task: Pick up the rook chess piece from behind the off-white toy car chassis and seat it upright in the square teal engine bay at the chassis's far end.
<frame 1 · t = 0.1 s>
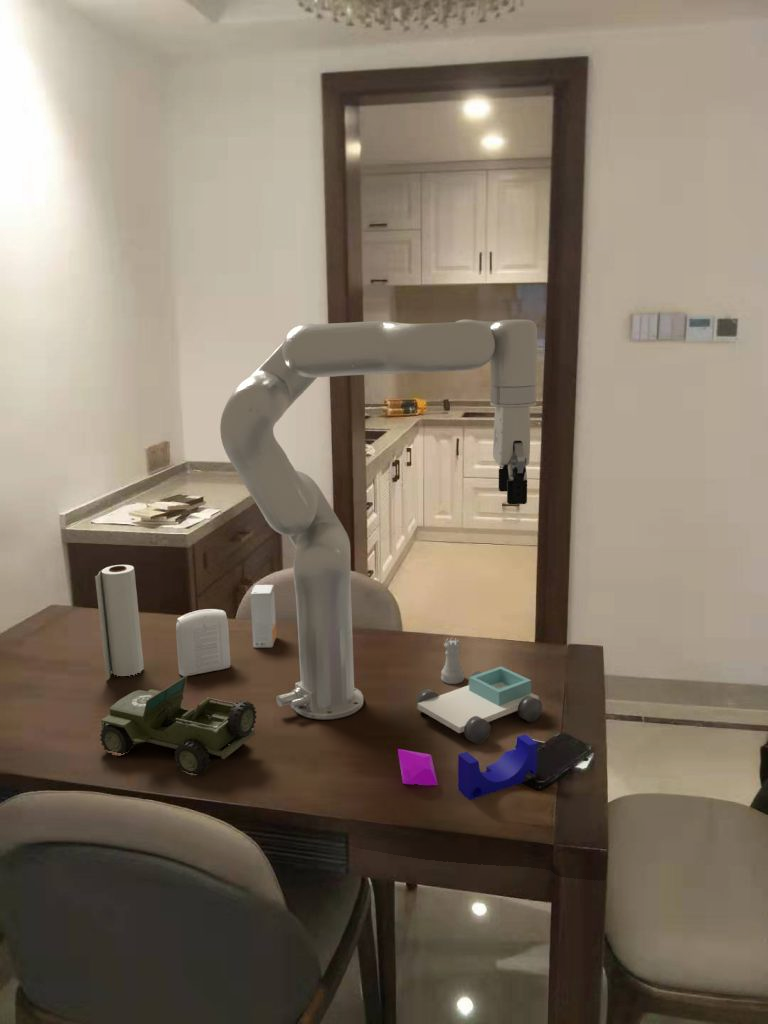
hand: (512, 497, 149), 37 cm above the table, tool pointing down, fingers open, 9 cm apart
paper towel roll: (125, 673, 173), on the table
skincare box: (265, 643, 186), on the table
rook chess piece: (452, 680, 166), on the table
toy jeep: (180, 751, 143), on the table
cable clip: (494, 783, 131), on the table
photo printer: (205, 670, 173), on the table
crystal: (417, 782, 132), on the table
chassis: (478, 716, 151), on the table
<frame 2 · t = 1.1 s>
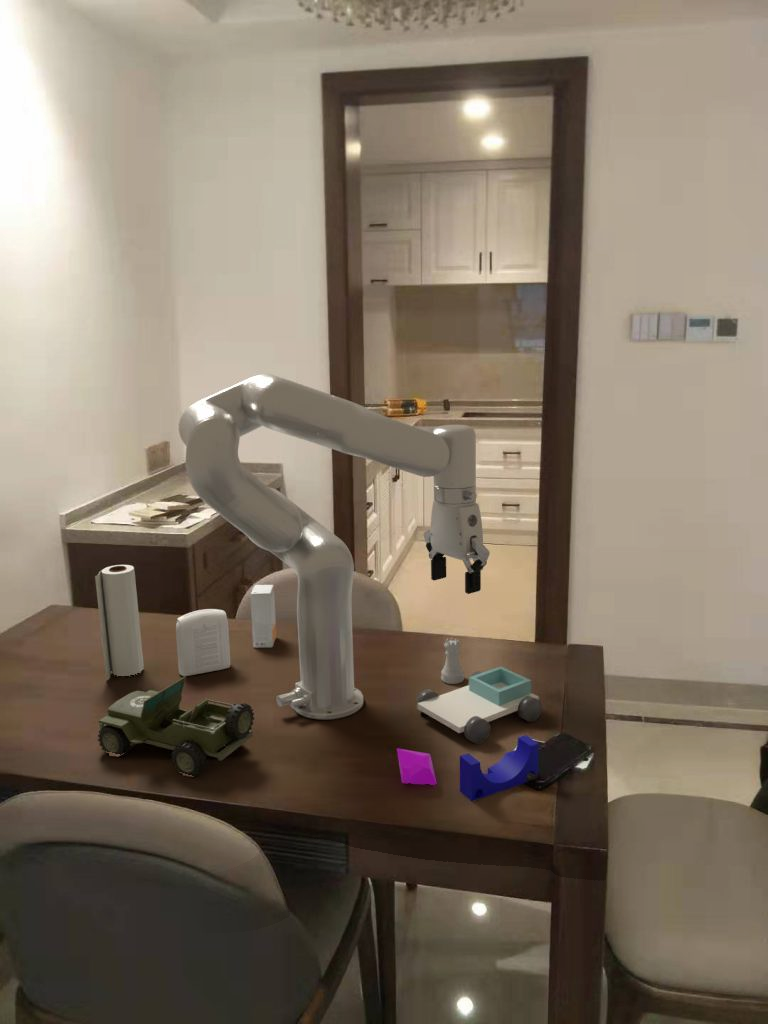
hand: (455, 585, 161), 19 cm above the table, tool pointing down, fingers open, 9 cm apart
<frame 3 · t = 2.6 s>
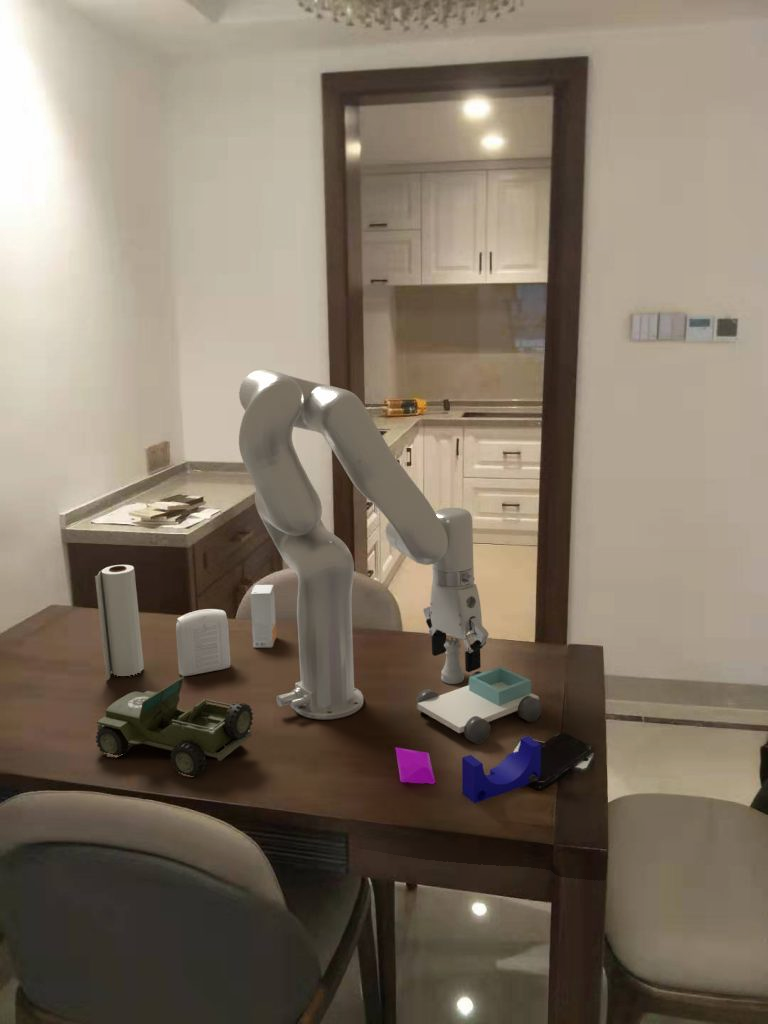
hand: (455, 661, 165), 4 cm above the table, tool pointing down, fingers open, 9 cm apart
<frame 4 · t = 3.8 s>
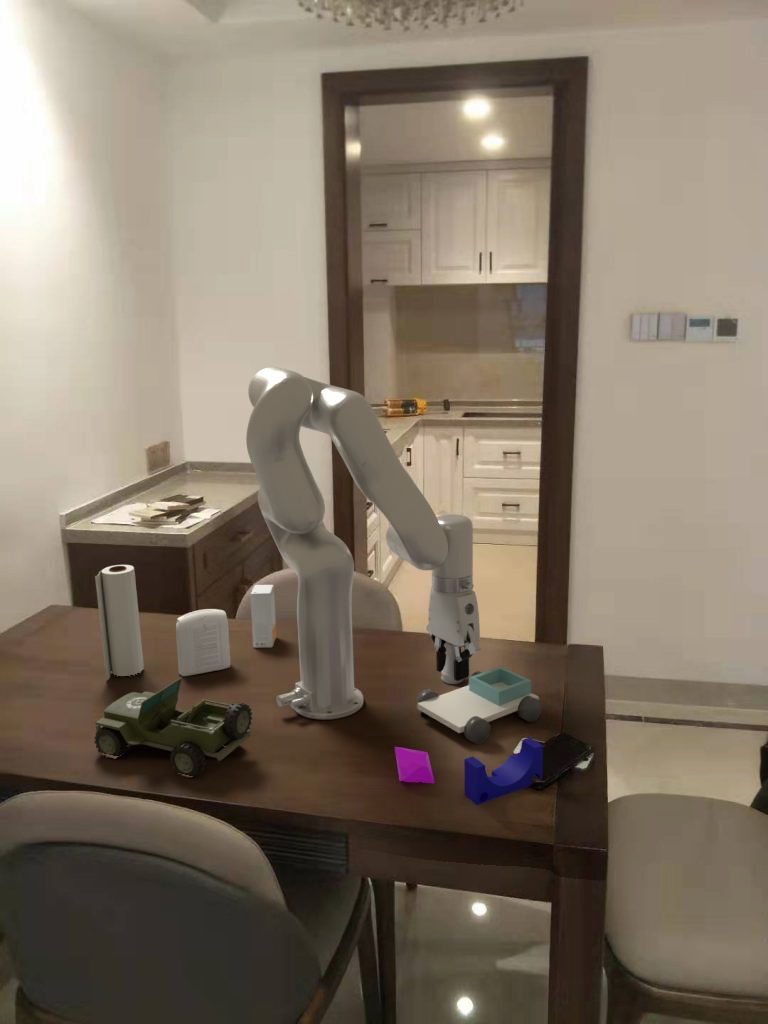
hand: (452, 673, 165), 1 cm above the table, tool pointing down, fingers closed on rook chess piece, 4 cm apart
rook chess piece: (452, 680, 166), on the table, touching gripper
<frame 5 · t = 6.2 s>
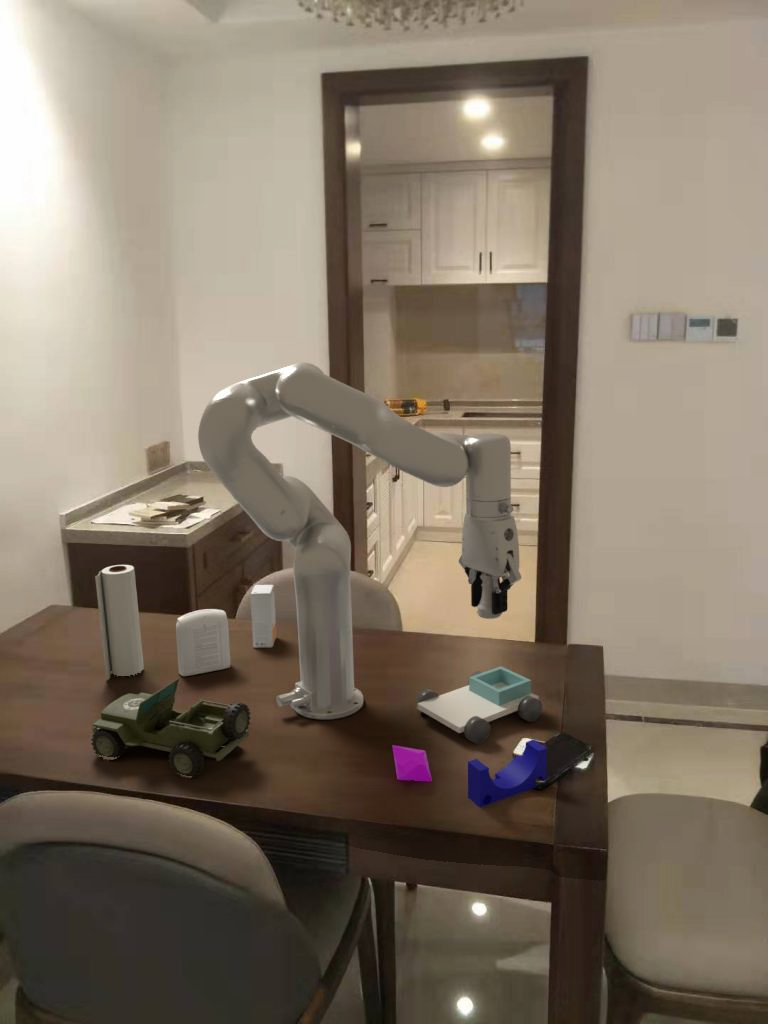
hand: (489, 607, 153), 18 cm above the table, tool pointing down, fingers closed on rook chess piece, 4 cm apart
rook chess piece: (489, 616, 153), point 16 cm above the table, touching gripper
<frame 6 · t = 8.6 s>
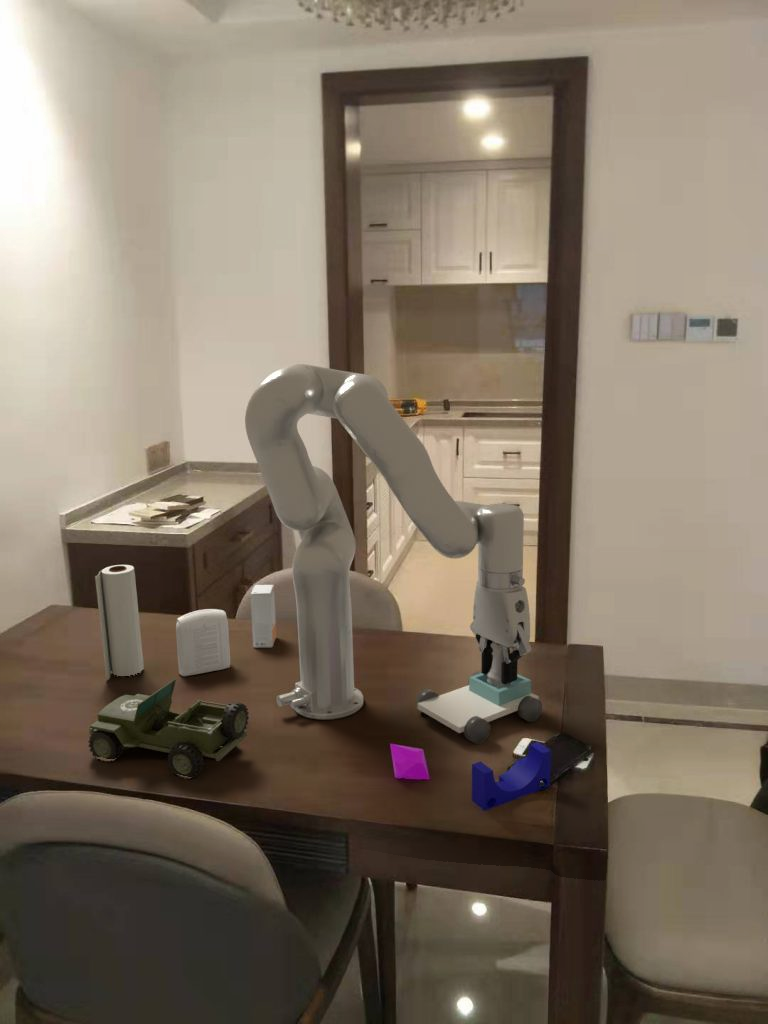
hand: (499, 675, 153), 6 cm above the table, tool pointing down, fingers closed on rook chess piece, 4 cm apart
rook chess piece: (499, 684, 153), point 4 cm above the table, touching gripper
when the fingers open (6 cm above the table, at t = 8.8 s): rook chess piece drops 2 cm, resting on chassis.
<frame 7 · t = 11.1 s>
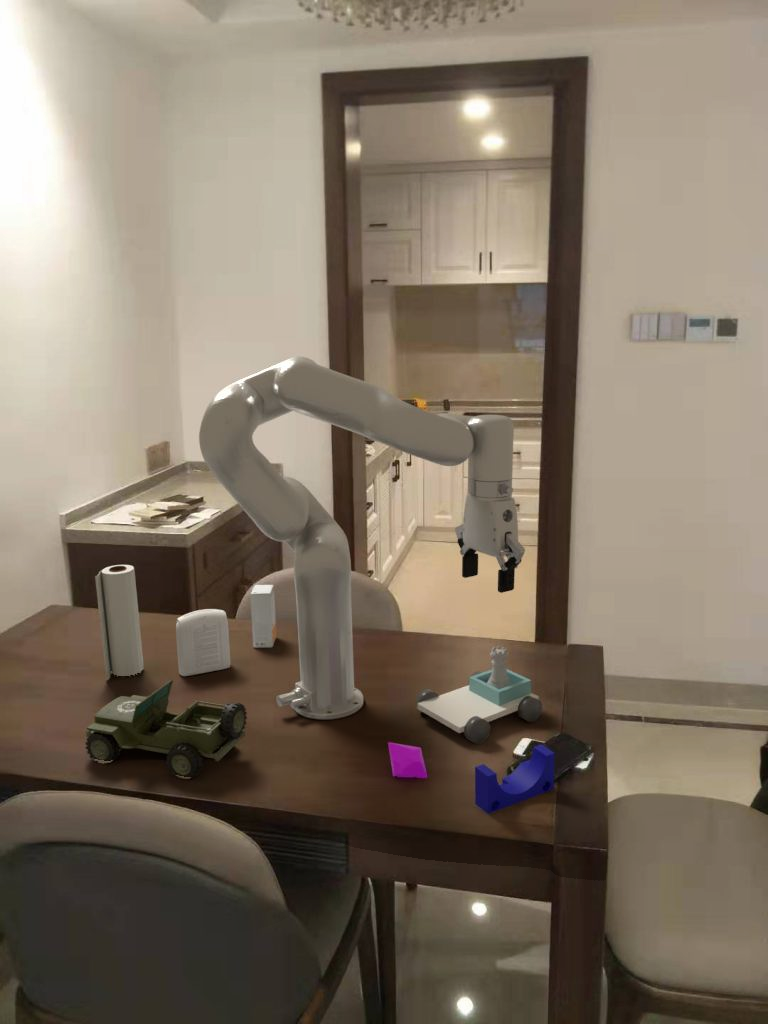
hand: (487, 583, 154), 21 cm above the table, tool pointing down, fingers open, 9 cm apart
rook chess piece: (499, 692, 154), point 3 cm above the table, touching chassis
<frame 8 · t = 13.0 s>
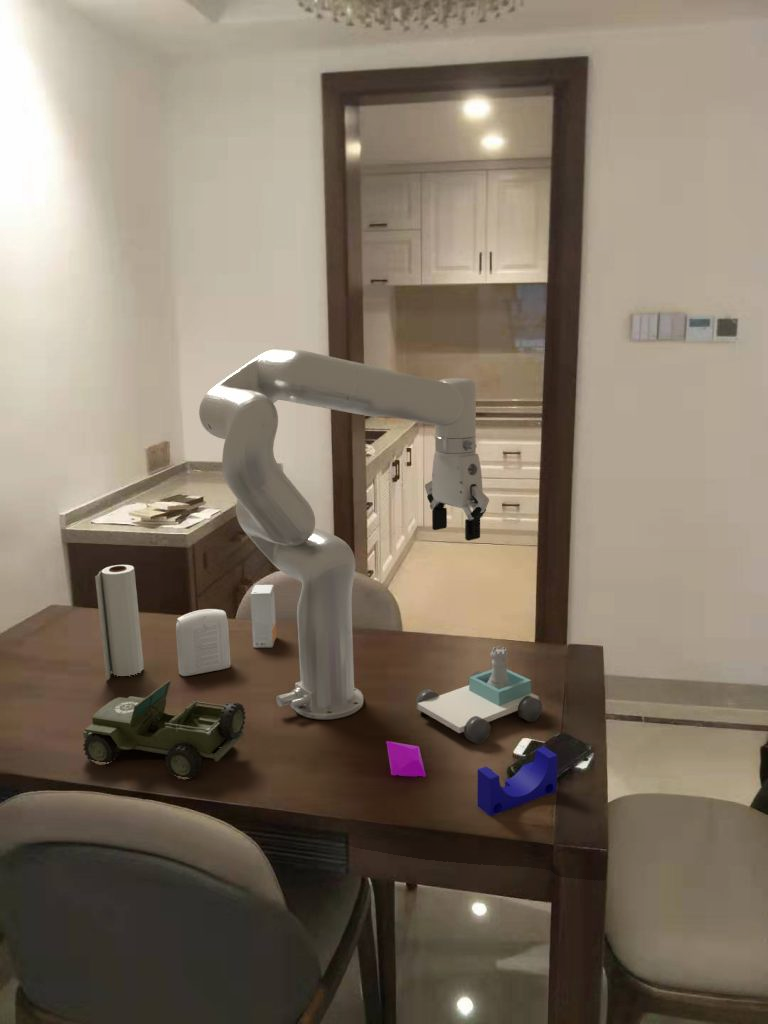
hand: (455, 533, 168), 26 cm above the table, tool pointing down, fingers open, 9 cm apart
at the end: rook chess piece 0.1 cm from the target spot on the chassis, point 2.8 cm above the chassis's base; rook chess piece tilted 0°; the gripper is holding nothing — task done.
